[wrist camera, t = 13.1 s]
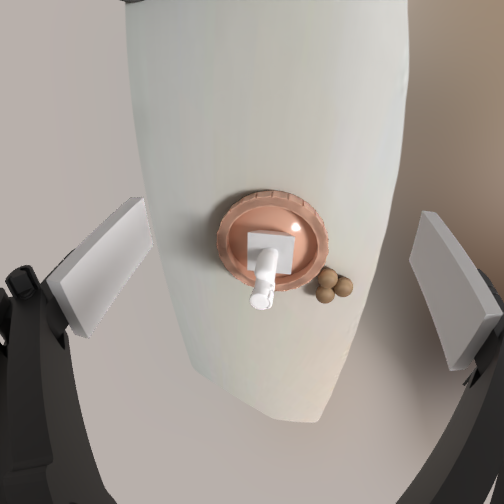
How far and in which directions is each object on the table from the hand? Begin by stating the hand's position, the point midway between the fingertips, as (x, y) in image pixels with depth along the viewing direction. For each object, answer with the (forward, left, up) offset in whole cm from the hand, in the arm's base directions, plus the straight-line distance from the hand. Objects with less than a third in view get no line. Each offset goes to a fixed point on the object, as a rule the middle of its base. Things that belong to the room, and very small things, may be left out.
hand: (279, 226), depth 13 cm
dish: (+20, -3, -32) cm, 38 cm away
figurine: (+20, -3, -31) cm, 37 cm away
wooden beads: (+28, +8, -32) cm, 43 cm away
